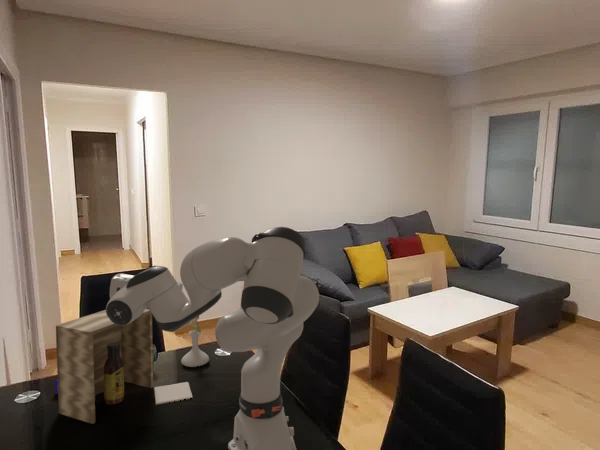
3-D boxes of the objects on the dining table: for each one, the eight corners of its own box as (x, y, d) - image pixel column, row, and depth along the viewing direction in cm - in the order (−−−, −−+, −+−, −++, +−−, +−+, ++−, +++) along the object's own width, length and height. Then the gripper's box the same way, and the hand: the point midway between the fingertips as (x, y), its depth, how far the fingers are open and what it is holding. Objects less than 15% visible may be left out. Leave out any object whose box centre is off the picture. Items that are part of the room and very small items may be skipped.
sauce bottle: (119, 406, 134) (117, 348, 133) (100, 405, 135) (98, 348, 133) (127, 396, 141) (126, 341, 139) (110, 395, 141) (108, 340, 140)
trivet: (192, 398, 140) (192, 396, 140) (155, 404, 135) (155, 403, 135) (188, 383, 151) (188, 381, 151) (154, 388, 146) (154, 387, 146)
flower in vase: (179, 360, 171) (178, 303, 169) (206, 356, 176) (205, 300, 174) (184, 373, 159) (183, 311, 157) (212, 368, 164) (212, 308, 162)
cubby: (153, 387, 148) (151, 309, 146) (92, 423, 124) (89, 332, 122) (122, 379, 154) (120, 305, 151) (58, 413, 130) (55, 325, 127)
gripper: (177, 287, 117) (188, 274, 130) (106, 277, 115) (124, 264, 129) (175, 308, 118) (186, 292, 131) (104, 297, 116) (122, 283, 130)
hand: (155, 278), depth 130 cm, fingers open, 8 cm apart
